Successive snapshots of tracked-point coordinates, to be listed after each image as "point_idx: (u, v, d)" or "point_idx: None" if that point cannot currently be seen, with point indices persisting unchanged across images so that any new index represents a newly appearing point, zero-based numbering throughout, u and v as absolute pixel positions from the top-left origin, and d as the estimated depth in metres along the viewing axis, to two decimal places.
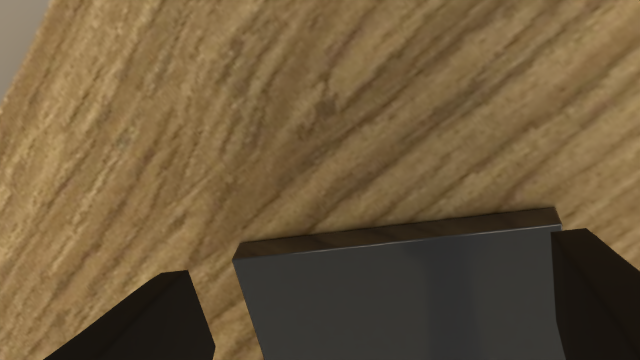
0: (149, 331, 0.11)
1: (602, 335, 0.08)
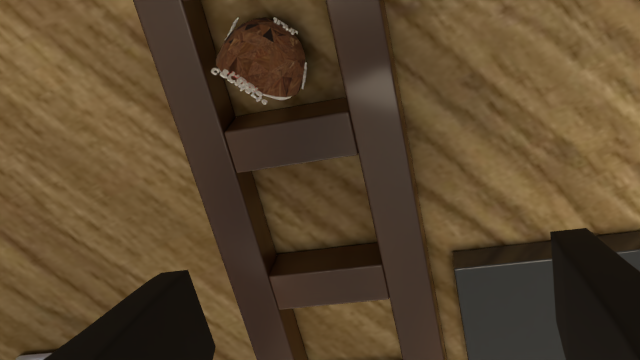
0: (149, 331, 0.11)
1: (602, 335, 0.08)
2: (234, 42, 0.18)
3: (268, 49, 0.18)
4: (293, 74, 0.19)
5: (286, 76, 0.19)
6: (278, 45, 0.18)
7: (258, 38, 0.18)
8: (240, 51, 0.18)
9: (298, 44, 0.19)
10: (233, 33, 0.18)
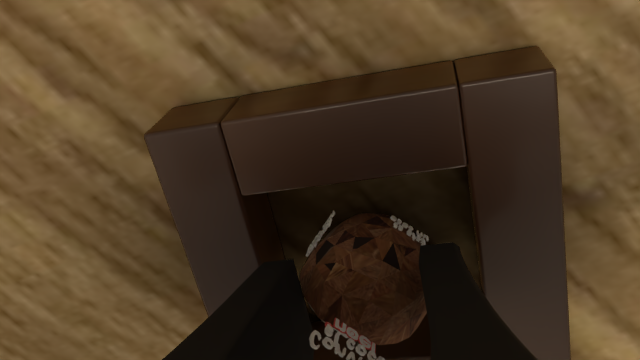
0: (270, 321, 0.10)
1: None
2: (336, 268, 0.11)
3: (392, 281, 0.11)
4: (424, 307, 0.12)
5: (414, 313, 0.12)
6: (406, 272, 0.11)
7: (376, 264, 0.11)
8: (347, 286, 0.11)
9: None
10: (332, 249, 0.12)
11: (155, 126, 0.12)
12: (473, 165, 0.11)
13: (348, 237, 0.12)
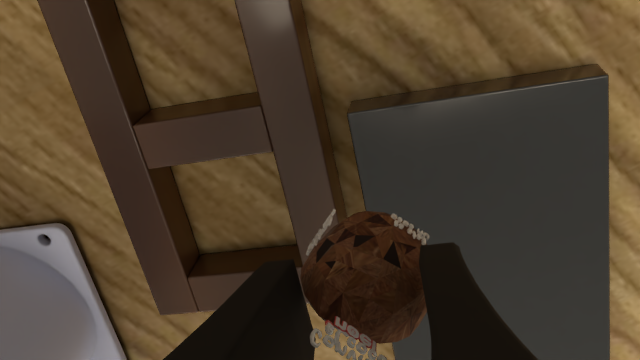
0: (270, 322, 0.10)
1: None
2: (336, 266, 0.11)
3: (391, 279, 0.11)
4: (424, 305, 0.12)
5: (415, 312, 0.12)
6: (407, 271, 0.11)
7: (377, 262, 0.11)
8: (348, 284, 0.11)
9: None
10: (333, 248, 0.12)
11: None
12: None
13: (348, 235, 0.12)
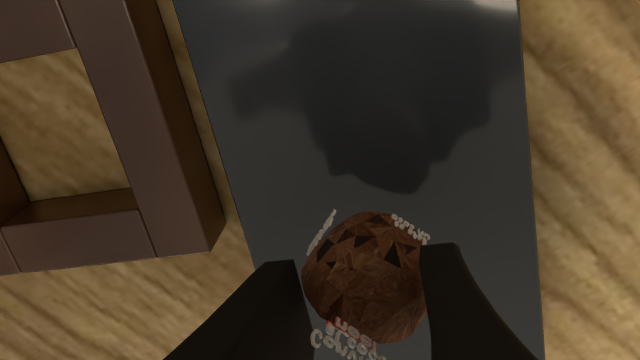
0: (270, 321, 0.10)
1: None
2: (337, 267, 0.11)
3: (392, 280, 0.11)
4: (425, 306, 0.12)
5: (415, 312, 0.12)
6: (407, 271, 0.11)
7: (377, 263, 0.11)
8: (348, 285, 0.11)
9: None
10: (333, 248, 0.12)
11: None
12: None
13: (349, 236, 0.12)
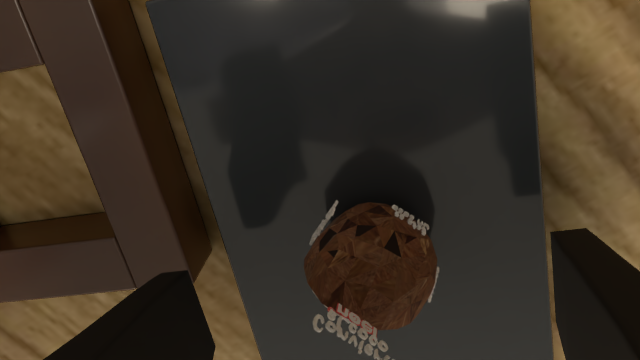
0: (149, 331, 0.11)
1: (602, 335, 0.08)
2: (339, 255, 0.12)
3: (392, 268, 0.12)
4: (424, 294, 0.12)
5: (415, 300, 0.12)
6: (407, 260, 0.12)
7: (378, 251, 0.12)
8: (350, 272, 0.12)
9: (430, 246, 0.12)
10: (335, 237, 0.12)
11: None
12: None
13: (351, 225, 0.12)
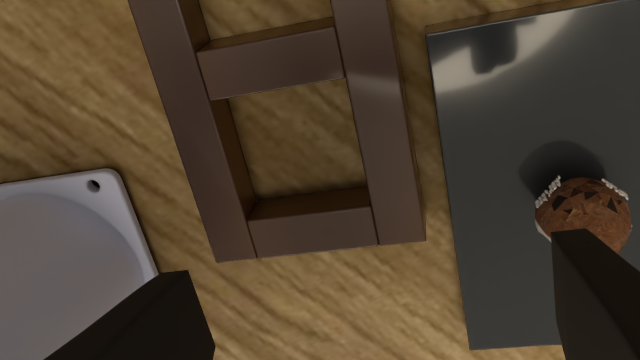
0: (149, 331, 0.11)
1: (602, 335, 0.08)
2: (573, 212, 0.17)
3: (612, 221, 0.17)
4: None
5: None
6: (621, 216, 0.17)
7: (603, 209, 0.17)
8: (583, 224, 0.17)
9: (628, 207, 0.18)
10: (568, 200, 0.17)
11: None
12: None
13: (578, 192, 0.17)
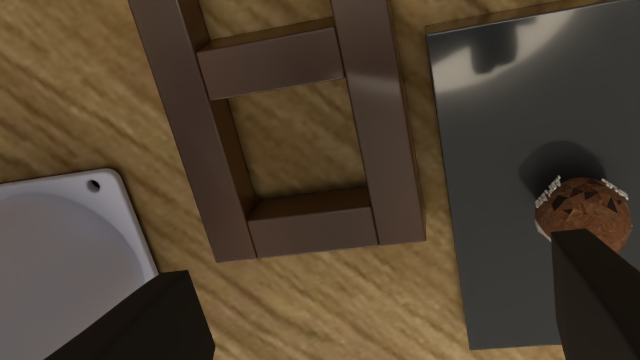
0: (149, 331, 0.11)
1: (602, 335, 0.08)
2: (573, 212, 0.17)
3: (612, 221, 0.17)
4: None
5: None
6: (621, 216, 0.17)
7: (603, 209, 0.17)
8: (583, 224, 0.17)
9: (628, 207, 0.18)
10: (568, 200, 0.17)
11: None
12: None
13: (578, 192, 0.17)
